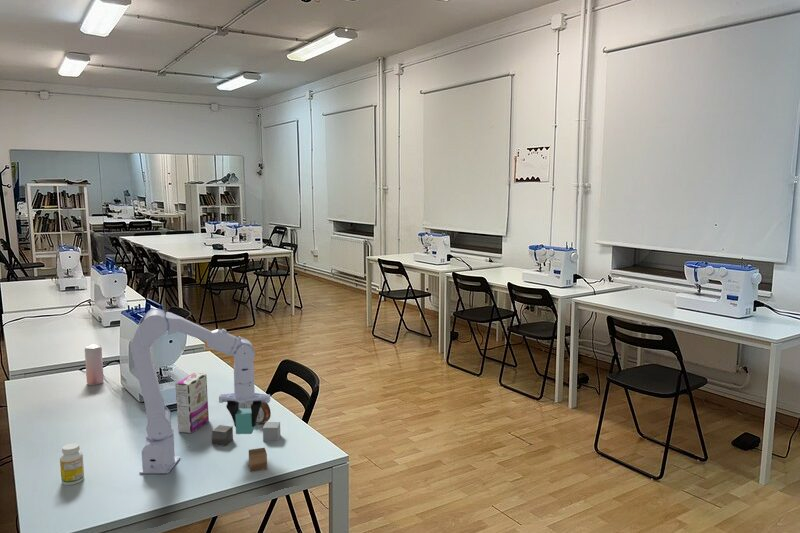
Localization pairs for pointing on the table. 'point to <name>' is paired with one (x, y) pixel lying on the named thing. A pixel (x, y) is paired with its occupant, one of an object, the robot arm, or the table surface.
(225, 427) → the charcoal block
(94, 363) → the beverage can
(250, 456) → the walnut block
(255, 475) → the table surface
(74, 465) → the supplement bottle
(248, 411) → the teal block
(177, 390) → the candy bar box
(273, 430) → the slate-grey block
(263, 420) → the tin
